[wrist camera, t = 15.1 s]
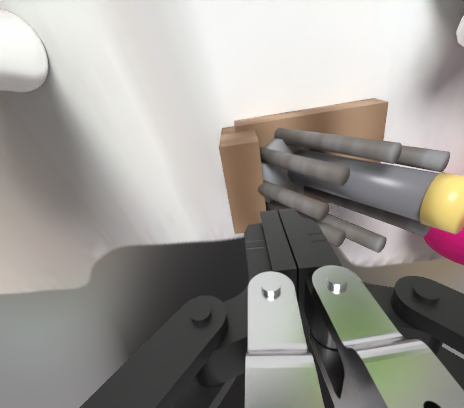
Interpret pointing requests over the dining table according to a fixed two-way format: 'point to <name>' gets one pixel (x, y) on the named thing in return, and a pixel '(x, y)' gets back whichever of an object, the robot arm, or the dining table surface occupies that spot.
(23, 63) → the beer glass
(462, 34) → the white knot
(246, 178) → the knife block
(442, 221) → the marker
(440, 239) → the pepper mill
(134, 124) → the dining table surface
